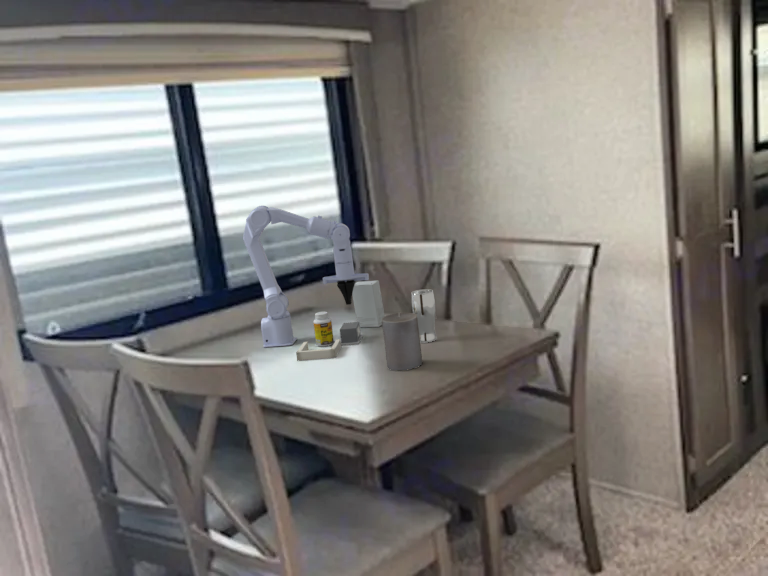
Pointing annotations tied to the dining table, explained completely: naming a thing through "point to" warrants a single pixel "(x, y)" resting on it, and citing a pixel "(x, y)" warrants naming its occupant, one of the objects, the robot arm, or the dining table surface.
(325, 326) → the supplement bottle
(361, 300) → the skincare box
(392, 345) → the pillar candle
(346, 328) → the box
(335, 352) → the tray
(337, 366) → the dining table surface
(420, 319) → the beer glass
